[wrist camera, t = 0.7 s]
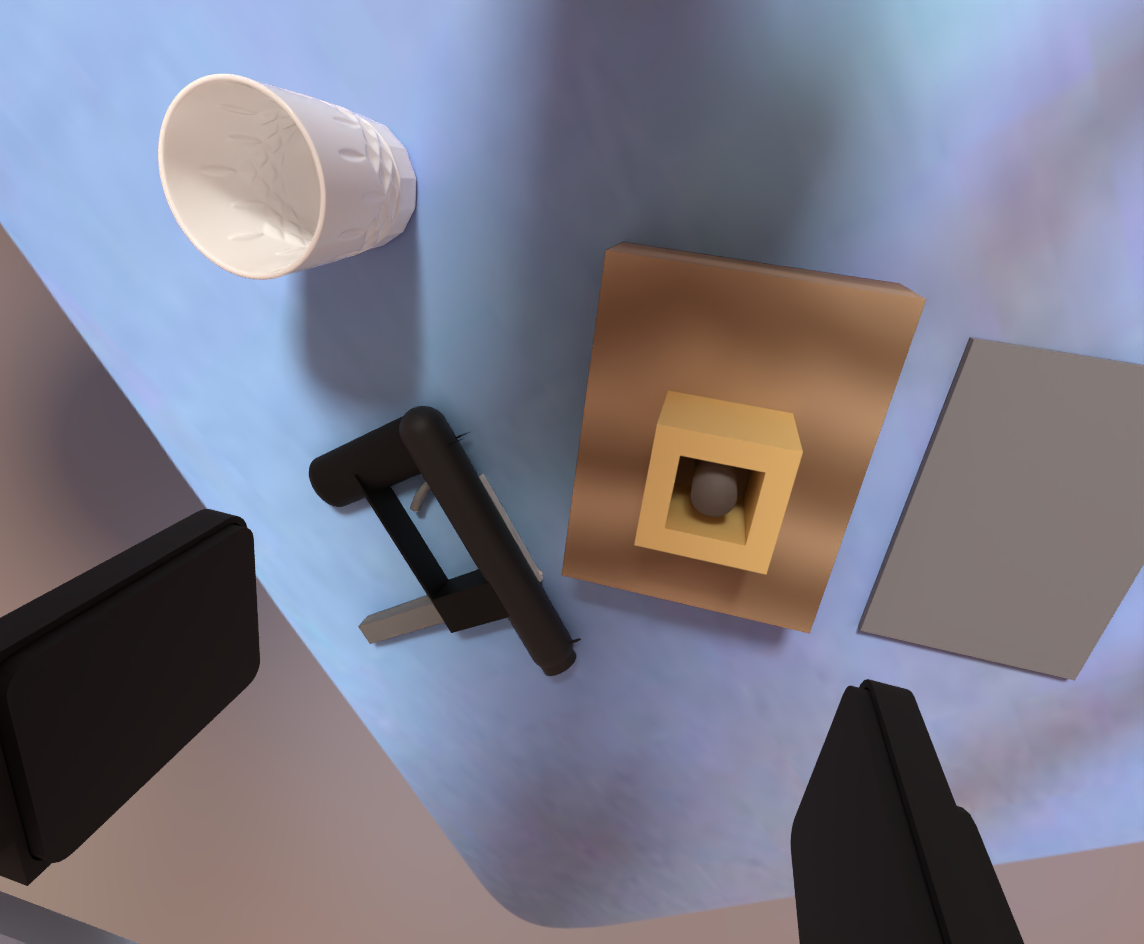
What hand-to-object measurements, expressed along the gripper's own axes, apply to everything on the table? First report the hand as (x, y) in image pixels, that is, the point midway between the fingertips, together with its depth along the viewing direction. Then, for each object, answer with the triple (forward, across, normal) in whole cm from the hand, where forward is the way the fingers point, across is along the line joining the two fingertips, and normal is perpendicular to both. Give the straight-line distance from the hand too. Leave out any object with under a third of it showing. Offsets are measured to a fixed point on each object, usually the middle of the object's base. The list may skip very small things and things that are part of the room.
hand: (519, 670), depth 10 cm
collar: (+24, -3, +4) cm, 24 cm away
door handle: (+30, +13, +18) cm, 37 cm away
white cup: (+28, +19, -6) cm, 34 cm away
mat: (+29, -20, +6) cm, 36 cm away
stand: (+29, -3, +4) cm, 29 cm away
